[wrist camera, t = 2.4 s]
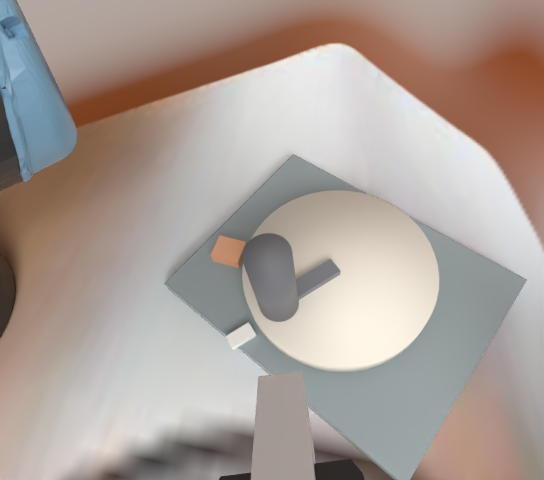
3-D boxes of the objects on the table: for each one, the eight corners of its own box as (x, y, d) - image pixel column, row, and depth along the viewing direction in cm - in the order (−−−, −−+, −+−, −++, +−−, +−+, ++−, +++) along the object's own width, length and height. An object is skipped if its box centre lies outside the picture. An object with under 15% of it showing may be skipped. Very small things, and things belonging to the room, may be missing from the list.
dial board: (164, 293, 34) (155, 282, 32) (294, 162, 40) (292, 146, 38) (398, 493, 25) (404, 494, 23) (520, 286, 31) (532, 273, 29)
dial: (209, 294, 31) (173, 234, 24) (317, 179, 36) (316, 97, 28) (363, 418, 26) (380, 391, 18) (467, 262, 30) (516, 188, 23)
